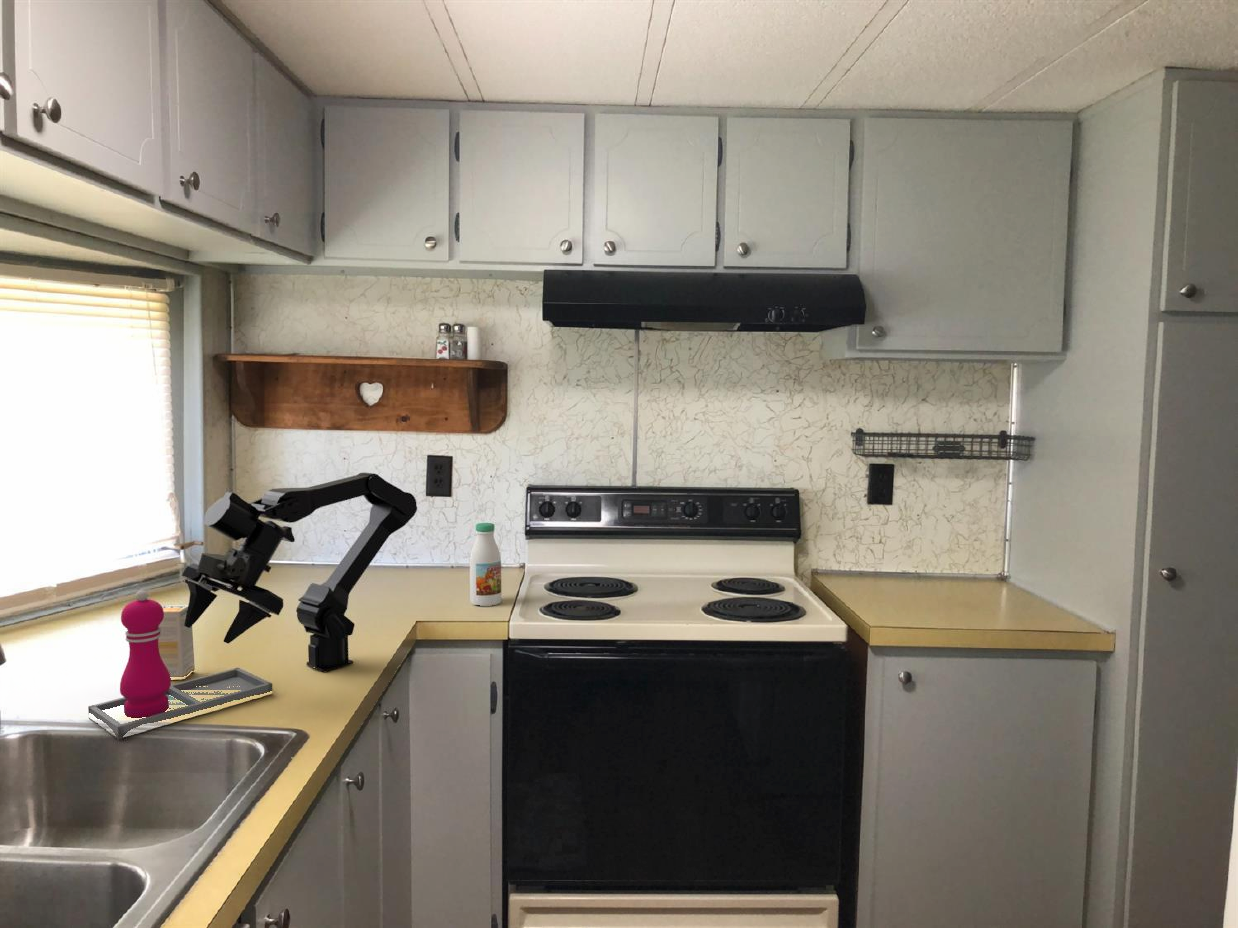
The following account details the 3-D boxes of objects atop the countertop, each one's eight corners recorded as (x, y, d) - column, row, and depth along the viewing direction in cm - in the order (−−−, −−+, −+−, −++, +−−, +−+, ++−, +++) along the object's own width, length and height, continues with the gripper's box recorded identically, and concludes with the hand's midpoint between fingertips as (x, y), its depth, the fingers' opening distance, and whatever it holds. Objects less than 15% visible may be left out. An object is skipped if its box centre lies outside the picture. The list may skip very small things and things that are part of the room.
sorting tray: (238, 678, 152) (238, 667, 152) (272, 694, 144) (272, 683, 144) (88, 718, 133) (88, 706, 133) (118, 740, 125) (117, 727, 125)
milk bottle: (465, 606, 202) (464, 525, 200) (477, 598, 210) (476, 520, 208) (494, 608, 200) (493, 527, 198) (506, 600, 208) (505, 522, 206)
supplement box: (196, 672, 155) (193, 604, 154) (183, 681, 150) (180, 611, 149) (151, 672, 155) (148, 604, 153) (137, 681, 150) (133, 611, 149)
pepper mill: (181, 708, 135) (176, 588, 133) (136, 723, 129) (130, 598, 127) (156, 699, 139) (151, 583, 137) (111, 713, 133) (106, 592, 131)
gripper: (186, 520, 142) (133, 603, 136) (267, 547, 135) (215, 636, 129) (227, 546, 151) (179, 625, 145) (304, 573, 145) (257, 656, 138)
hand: (205, 634), depth 139 cm, fingers open, 9 cm apart
